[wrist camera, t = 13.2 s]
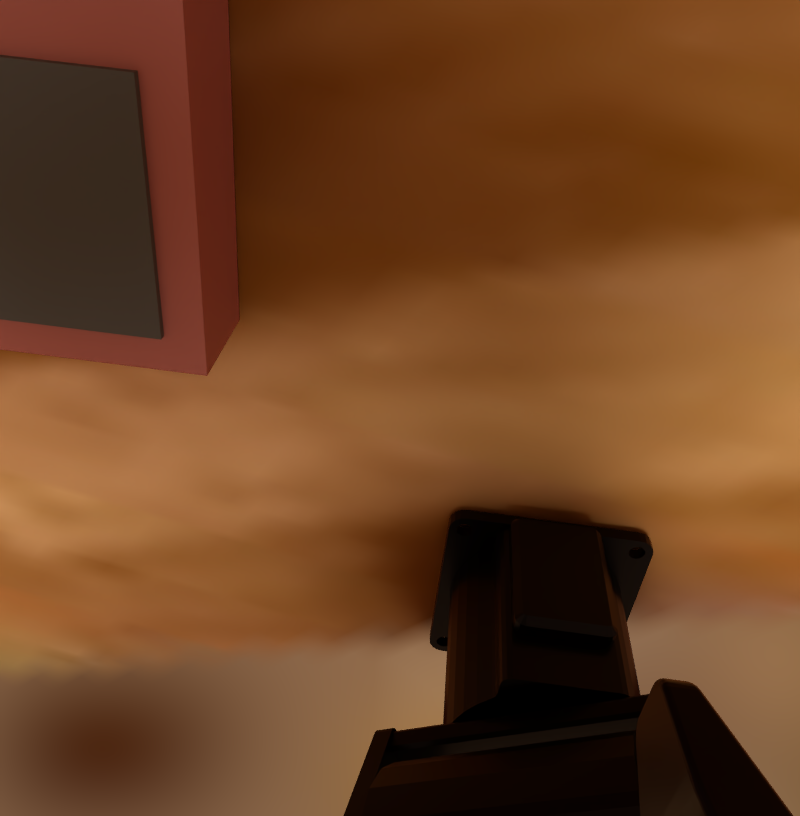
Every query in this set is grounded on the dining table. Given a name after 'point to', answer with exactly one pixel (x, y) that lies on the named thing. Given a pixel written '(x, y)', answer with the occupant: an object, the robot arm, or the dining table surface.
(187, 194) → the pink control box
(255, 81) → the dining table surface
